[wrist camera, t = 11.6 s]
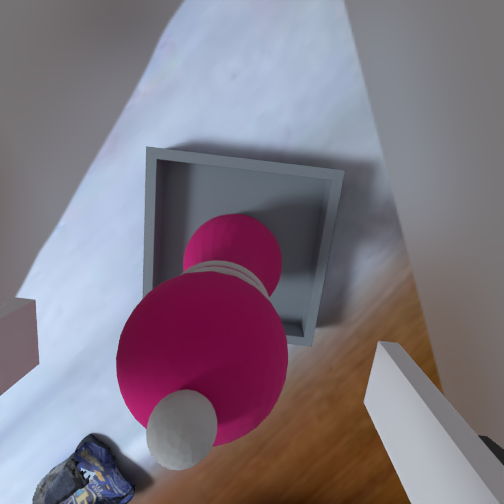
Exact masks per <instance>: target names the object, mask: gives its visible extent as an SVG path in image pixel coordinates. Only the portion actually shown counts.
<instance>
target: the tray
mask: <svg viewBox="0 0 504 504" xmlns="http://www.w3.org/2000/svg"><path fill="white" fill-rule="evenodd" d="M344 174H345V170H337V169H329V168H321V167H313V166H304V165H296V164H288V163H279V162H271V161H263V160H254V159H246V158H238V157H229V156H221V155H213V154H204V153H196V152H188V151H180V150H171V149H163V148H155V147H146V181H145V223H144V265H143V298H144V297H145V296H146V295H147V294H148V293H149V292H150V291H152V290H153V289H154V288H156V287H157V286H158V285H160V284H161V283H162V282H165V281H167V280H170V279H172V278H175V277H177V276H180V275H181V274H182V273H183V272H184V268H183V260H184V253H185V249H186V246H187V244H188V242H189V241H190V239H191V237H192V236H193V234H194V233H195V231H196V230H197V229H198V228H199V227H200V226H201V225H203V224H204V223H205V222H207V221H208V220H210V219H212V218H214V217H217V216H220V215H226V214H243V215H247V216H251V217H253V218H255V219H256V220H258V221H259V222H261V223H262V224H263V225H265V226H266V227H267V228H268V229H269V230H270V231H271V233H272V234H273V235H274V236H275V238H276V240H277V242H278V244H279V247H280V250H281V256H282V269H281V276H280V280H279V283H278V285H277V287H276V289H275V291H274V292H273V293H272V295H271V296H270V298H269V299H270V302H271V303H272V305H273V307H274V308H275V310H276V312H277V313H278V315H279V316H280V318H281V322H282V325H283V328H284V331H285V334H286V338H287V344H295V345H303V346H311V347H312V342H313V337H314V332H315V327H316V321H317V316H318V311H319V306H320V300H321V295H322V290H323V284H324V279H325V274H326V269H327V263H328V258H329V253H330V248H331V242H332V237H333V232H334V226H335V221H336V216H337V211H338V205H339V200H340V195H341V190H342V184H343V179H344Z"/></svg>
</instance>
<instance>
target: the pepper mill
mask: <svg viewBox="0 0 504 504" xmlns="http://www.w3.org/2000/svg"><path fill="white" fill-rule="evenodd" d="M183 268H184V272H183V273H182V274H181V275H180V276H177V277H175V278H172V279H170V280H167V281H165V282H162V283H161V284H160V285H158V286H157V287H156V288H154V289H153V290H152V291H150V292H149V293H148V294H147V295H146V296H145V297H144V298H143V299H142V301H141V302H140V303H139V304H138V305H137V306H136V308H135V309H134V310H133V312H132V314H131V315H130V317H129V319H128V320H127V322H126V324H125V326H124V328H123V331H122V333H121V335H120V340H119V345H118V351H117V356H116V367H117V379H118V383H119V387H120V392H121V394H122V396H123V399H124V401H125V404H126V406H127V407H128V409H129V410H130V412H131V413H132V415H133V416H134V418H135V419H136V420H137V421H138V422H139V423H140V424H141V425H143V426H144V427H145V428H146V429H147V431H146V437H147V445H148V448H149V450H150V452H151V455H152V456H153V457H154V458H155V459H156V461H157V462H158V463H159V464H160V465H162V466H164V467H166V468H168V469H170V470H183V469H187V468H191V467H192V466H194V465H196V464H198V463H199V462H200V461H201V460H202V459H203V458H205V457H206V455H207V454H208V453H209V451H210V450H211V448H212V447H213V446H218V445H222V444H225V443H229V442H232V441H234V440H236V439H238V438H240V437H242V436H244V435H246V434H248V433H249V432H250V431H252V430H253V429H254V428H256V427H257V426H258V425H259V424H260V423H261V422H262V421H263V420H264V419H265V418H266V417H267V416H268V415H269V414H270V412H271V410H272V409H273V407H274V405H275V404H276V402H277V400H278V398H279V396H280V393H281V391H282V388H283V385H284V382H285V379H286V372H287V365H288V348H287V338H286V334H285V331H284V328H283V325H282V322H281V318H280V316H279V315H278V313H277V312H276V310H275V308H274V307H273V305H272V303H271V302H270V299H269V298H270V296H271V295H272V293H273V292H274V291H275V289H276V287H277V285H278V283H279V280H280V276H281V269H282V256H281V250H280V247H279V244H278V242H277V240H276V238H275V236H274V235H273V234H272V233H271V231H270V230H269V229H268V228H267V227H266V226H265V225H263V224H262V223H261V222H259V221H258V220H256V219H255V218H253V217H251V216H247V215H243V214H226V215H220V216H217V217H214V218H212V219H210V220H208V221H207V222H205V223H204V224H203V225H201V226H200V227H199V228H198V229H197V230H196V231H195V233H194V234H193V236H192V237H191V239H190V241H189V242H188V244H187V246H186V249H185V253H184V260H183Z"/></svg>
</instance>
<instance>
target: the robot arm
mask: <svg viewBox="0 0 504 504" xmlns="http://www.w3.org/2000/svg"><path fill="white" fill-rule="evenodd" d="M38 364H39V351H38V335H37V319H36V302H35V300H32V299H24V298H13V299H11V300H9V301H7V302H5V303H3V304H0V396H1V395H2V394H3V393H4V392H5V391H7V390H8V389H9V388H10V387H11V386H13V385H14V384H15V383H16V382H18V381H19V380H20V379H21V378H22V377H24V376H25V375H26V374H27V373H28V372H30V371H31V370H32V369H33V368H34V367H36V366H37V365H38ZM364 404H365V406H366V408H367V410H368V412H369V414H370V417H371V419H372V421H373V423H374V425H375V427H376V429H377V431H378V434H379V436H380V438H381V440H382V442H383V444H384V446H385V448H386V451H387V453H388V455H389V457H390V459H391V461H392V463H393V465H394V468H395V470H396V472H397V474H398V476H399V478H400V480H401V482H402V485H403V487H404V489H405V491H406V493H407V495H408V497H409V500H410V502H411V504H504V449H502V448H501V447H500V446H499V445H497V444H496V443H495V442H493V441H492V440H491V439H490V438H488V437H487V436H480V435H477V434H476V433H475V432H474V431H473V430H472V428H471V427H470V426H469V425H468V424H467V423H466V421H465V420H464V419H463V418H462V417H461V416H460V414H459V413H458V412H457V411H456V410H455V409H454V407H453V406H452V405H451V404H450V403H449V402H448V400H447V399H446V398H445V397H444V396H443V395H442V393H441V392H440V391H439V390H438V389H437V388H436V386H435V385H434V384H433V383H432V382H431V380H430V379H429V378H428V377H427V376H426V375H425V373H424V372H423V371H422V370H421V369H420V368H419V366H418V365H417V364H416V363H415V362H414V361H413V359H412V358H411V357H410V356H409V355H408V354H407V352H406V351H405V350H404V349H403V348H402V347H401V345H400V344H399V343H393V342H385V341H378V345H377V349H376V353H375V357H374V362H373V366H372V370H371V374H370V378H369V382H368V386H367V390H366V395H365V399H364Z"/></svg>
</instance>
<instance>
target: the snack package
mask: <svg viewBox="0 0 504 504" xmlns="http://www.w3.org/2000/svg"><path fill="white" fill-rule="evenodd" d="M110 455H111V456H110ZM115 459H116V458H115V457H114V456H113V455H112V454H111V452H110V448H109V447H107V446H106V445H105V444H104V443H101V442H99V441H98V440H97V439H95V438H94V437H93V436H92V435H91V434H89V435H87V436H86V437H85V438H84V439H83V440H82V441H81V442H80V443H79V445H78V446H77V448H76V450H75V453H73V454H72V455H71V456H70V457H69V458H68V459H67V460H65V461H64V462H62V463H61V464H59V465H57V466H56V467H54V468H53V469H52V470H51V471H50V472H49V474H47V475H46V476H45V477H44V478H43V479H42V480H41V482H39V484H38V485H37V488H36V492H35V493H34V496H33V500H32V501H33V504H127V503H128V502H129V501H130V500H131V499H132V497H133V495H134V492H135V485H133V484H132V483H130V482H129V481H127V480H126V479H125V478H124V477H123V476H122V475H121V474H120V472H119V471H118V469H117V467H116V464H115ZM81 468H83V469H86V470H88V471H91V472H95V473H96V474H95V475H94V476H93V478H92V479H91V480H90V481H89V478H90V475H89V476H88V477H87V478H86V479H85V478H84V474H85V473H86V471H84V472H83V471H81Z"/></svg>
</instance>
